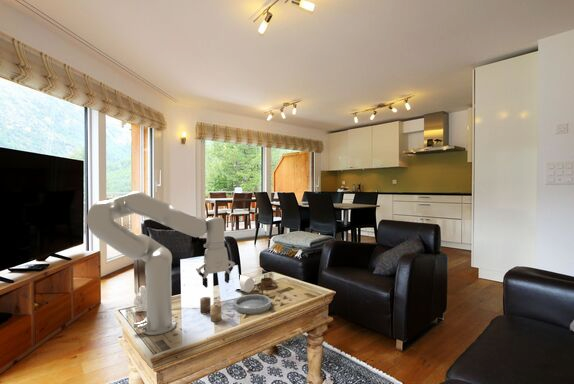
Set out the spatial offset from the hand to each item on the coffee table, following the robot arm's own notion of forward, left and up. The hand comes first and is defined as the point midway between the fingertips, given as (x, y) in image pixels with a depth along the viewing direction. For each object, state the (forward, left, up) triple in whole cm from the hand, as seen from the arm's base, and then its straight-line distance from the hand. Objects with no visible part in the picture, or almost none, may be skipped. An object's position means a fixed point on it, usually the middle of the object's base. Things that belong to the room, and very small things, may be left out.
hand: (216, 284), depth 127 cm
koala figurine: (-25, +30, -16) cm, 42 cm away
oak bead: (0, 0, -15) cm, 15 cm away
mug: (+28, +28, -16) cm, 42 cm away
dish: (+20, +4, -15) cm, 25 cm away
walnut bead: (-1, +11, -15) cm, 19 cm away
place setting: (+36, +23, -16) cm, 46 cm away
